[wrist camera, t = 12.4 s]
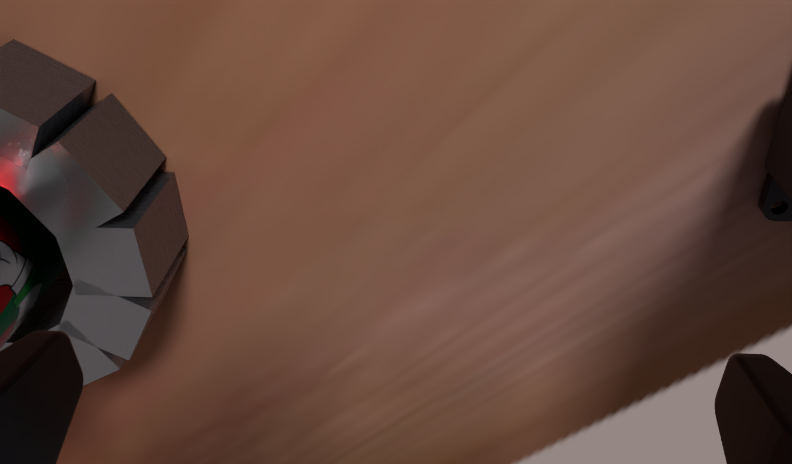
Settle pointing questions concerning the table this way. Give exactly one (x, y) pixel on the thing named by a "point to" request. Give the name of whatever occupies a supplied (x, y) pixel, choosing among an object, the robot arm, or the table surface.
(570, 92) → the table surface
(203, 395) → the table surface
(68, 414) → the robot arm
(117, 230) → the ring
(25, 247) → the soda can
